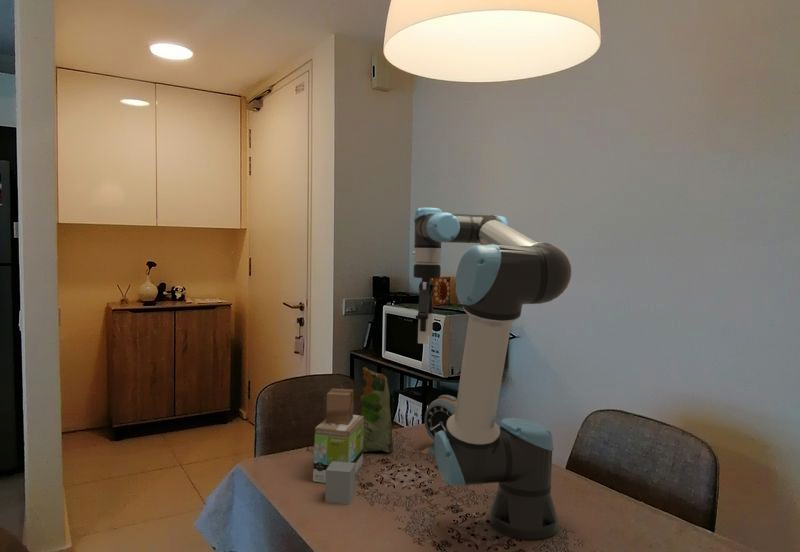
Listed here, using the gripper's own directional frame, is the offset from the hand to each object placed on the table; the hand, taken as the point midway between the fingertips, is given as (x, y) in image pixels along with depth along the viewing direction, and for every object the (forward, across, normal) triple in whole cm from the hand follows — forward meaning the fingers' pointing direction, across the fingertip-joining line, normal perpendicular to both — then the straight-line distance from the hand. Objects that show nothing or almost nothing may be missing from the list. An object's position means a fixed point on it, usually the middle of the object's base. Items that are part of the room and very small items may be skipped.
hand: (425, 339), depth 158 cm
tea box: (+37, +8, -22) cm, 44 cm away
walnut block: (+22, +8, -22) cm, 32 cm away
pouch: (+37, -12, -16) cm, 42 cm away
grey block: (+37, +23, -18) cm, 47 cm away
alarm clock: (+37, -14, +6) cm, 40 cm away
